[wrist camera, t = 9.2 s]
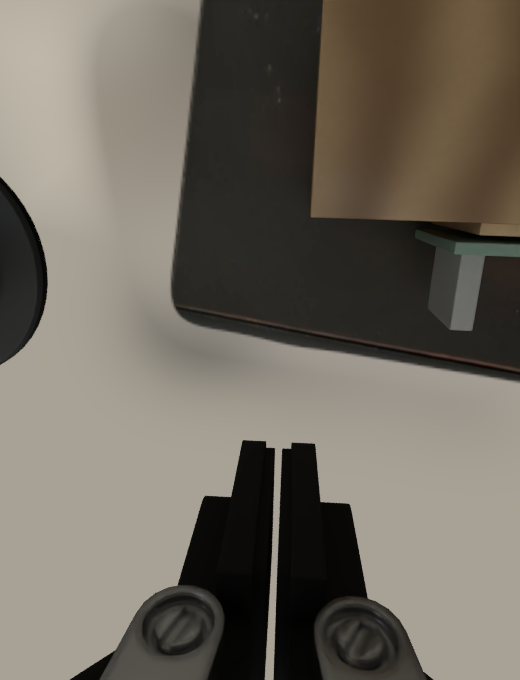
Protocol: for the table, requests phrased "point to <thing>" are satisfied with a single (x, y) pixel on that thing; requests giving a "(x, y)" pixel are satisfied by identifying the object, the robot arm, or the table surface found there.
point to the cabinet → (419, 113)
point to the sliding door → (461, 271)
